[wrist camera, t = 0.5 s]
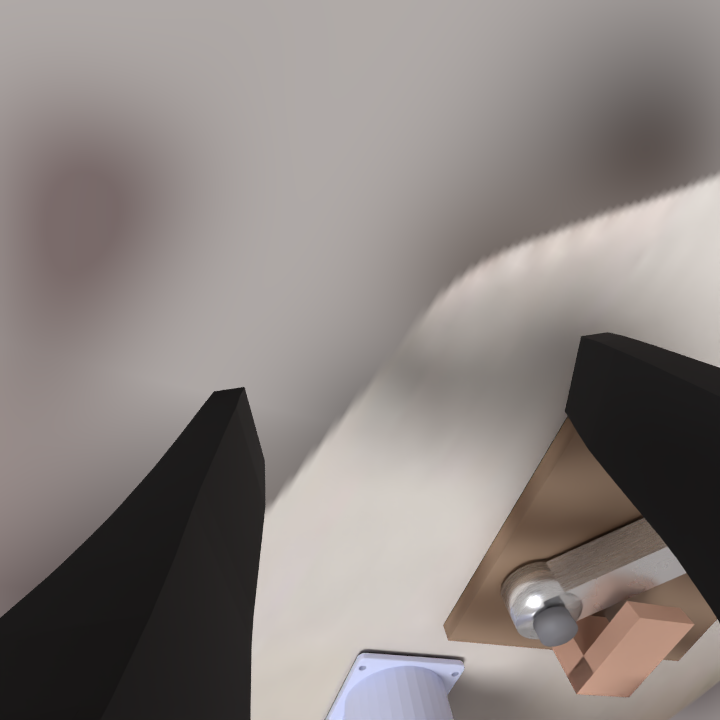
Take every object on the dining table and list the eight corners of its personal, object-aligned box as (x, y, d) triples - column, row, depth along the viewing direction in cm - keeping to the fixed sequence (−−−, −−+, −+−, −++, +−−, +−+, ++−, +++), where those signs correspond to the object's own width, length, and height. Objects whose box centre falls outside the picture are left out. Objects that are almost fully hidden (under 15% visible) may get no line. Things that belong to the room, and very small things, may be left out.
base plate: (668, 647, 34) (678, 661, 33) (443, 625, 29) (448, 640, 28) (852, 442, 27) (871, 452, 26) (598, 365, 22) (611, 373, 21)
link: (511, 616, 27) (526, 648, 26) (492, 580, 26) (507, 611, 24) (767, 502, 26) (801, 527, 24) (765, 456, 25) (802, 480, 23)
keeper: (484, 625, 28) (511, 690, 25) (533, 549, 26) (570, 609, 22) (590, 636, 30) (628, 697, 27) (645, 567, 28) (694, 624, 24)
